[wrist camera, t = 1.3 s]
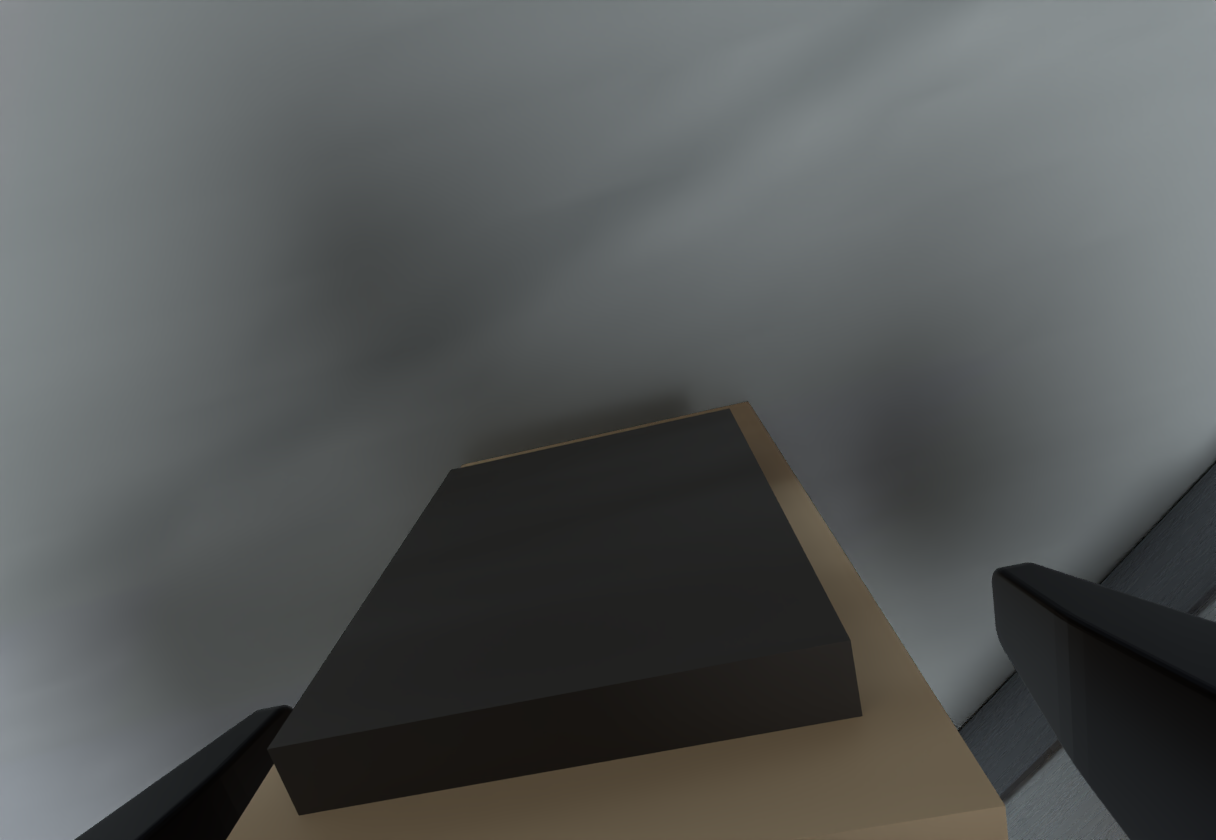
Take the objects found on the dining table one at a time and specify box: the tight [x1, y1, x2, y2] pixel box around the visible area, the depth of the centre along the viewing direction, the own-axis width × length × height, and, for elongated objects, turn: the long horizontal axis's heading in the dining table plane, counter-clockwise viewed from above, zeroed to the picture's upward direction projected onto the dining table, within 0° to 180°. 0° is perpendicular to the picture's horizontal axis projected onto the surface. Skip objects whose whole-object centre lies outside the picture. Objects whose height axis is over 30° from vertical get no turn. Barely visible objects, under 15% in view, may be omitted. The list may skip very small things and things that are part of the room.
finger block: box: [226, 401, 1008, 840], centre depth 8 cm, size 5×5×8 cm
